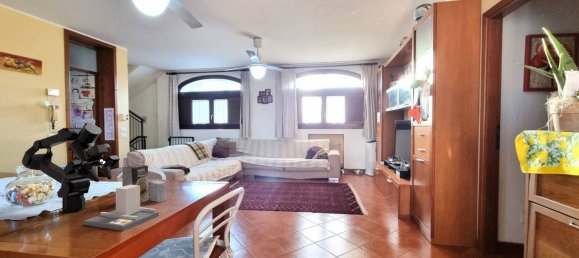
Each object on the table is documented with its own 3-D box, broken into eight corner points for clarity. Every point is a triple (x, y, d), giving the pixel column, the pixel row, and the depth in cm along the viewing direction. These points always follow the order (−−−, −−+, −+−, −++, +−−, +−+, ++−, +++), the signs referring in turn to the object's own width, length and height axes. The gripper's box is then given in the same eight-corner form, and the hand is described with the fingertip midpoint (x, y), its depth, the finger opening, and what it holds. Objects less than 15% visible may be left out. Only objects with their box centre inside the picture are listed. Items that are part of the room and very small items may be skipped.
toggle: (113, 214, 95) (113, 188, 95) (128, 209, 101) (128, 184, 101) (126, 216, 94) (126, 189, 94) (140, 211, 99) (140, 185, 99)
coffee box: (133, 203, 115) (133, 168, 115) (121, 202, 116) (121, 167, 116) (148, 198, 124) (148, 165, 124) (137, 197, 125) (137, 164, 125)
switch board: (84, 224, 90) (84, 217, 90) (123, 211, 104) (123, 204, 104) (123, 230, 85) (123, 222, 85) (158, 215, 99) (158, 209, 99)
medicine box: (166, 200, 120) (166, 182, 120) (157, 202, 116) (157, 184, 116) (157, 198, 124) (157, 180, 124) (148, 200, 121) (148, 181, 121)
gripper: (68, 138, 93) (90, 170, 90) (116, 136, 111) (136, 163, 108) (53, 159, 96) (74, 190, 92) (103, 154, 113) (122, 180, 110)
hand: (104, 180), depth 101 cm, fingers open, 5 cm apart
